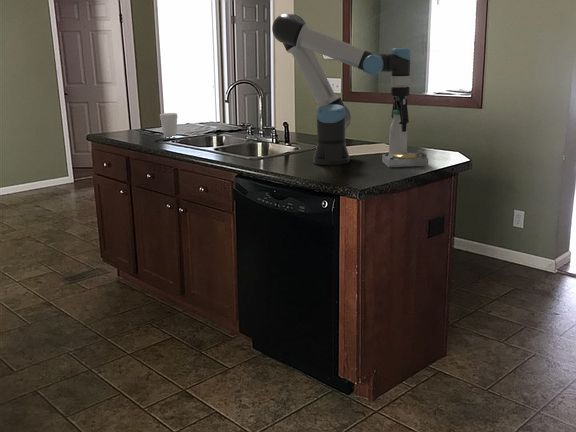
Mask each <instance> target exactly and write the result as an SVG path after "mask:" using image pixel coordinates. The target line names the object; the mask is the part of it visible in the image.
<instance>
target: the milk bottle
mask: <svg viewBox="0 0 576 432" xmlns="http://www.w3.org/2000/svg"><path fill="white" fill-rule="evenodd" d="M393 116H394V118H393V119H392V122H391V124H390V127H389V137H388V154H394V153H401V152H408V138H407V139H404V140H400V124H399V123H400V122H401V120H400V114H399V111H398V110H394V111H393Z"/></svg>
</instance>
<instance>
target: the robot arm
mask: <svg viewBox="0 0 576 432" xmlns="http://www.w3.org/2000/svg"><path fill="white" fill-rule="evenodd" d="M271 28H272V29H271V30H272V35H273V37H274V38H275V39H276V40H277V41H278V42H280V43H282V45H283V46H284V48H285V50H286V52H287V53H289V54H291V55H292V57H293V59H294V61H295V62H296V65H297V67H298V68H299V70H300V72H301V74H302V76H303V78H304V80H305V82H306V84H307V86H308V89H309V90H310V93H311V94H312V96H313V97H314V100H315V102H316V104H317V105H316V108H315V109H316V129H317V130H316V132H317V133H316V135H317V136H316V137H317V138H316V141H317V144H316V148H315V151H314V155H313V164H315V165H320V166H341V165H346V164H348V163H350V154H349V152H348V148H347V145H346V129H347V128H348V127H349V126H350V123H351V118H352V116H351V113H350V112H351V111H350V110H349V108H348V107H347V106H346V105H345V103H344V102H343V100H342V98H341V96H339V95H336V94H335V91H334V90H333V88H332V85H331V84H330V81H329V79H328V78H327V75H326V74H325V72H324V70H323V68H322V65H321V64H320V61H319V60H318V58H317V56H316V54H315V52H316V53H318V54H321V55H323V56H326V57H328V58H330V59H333V60H336V61H338V62H340V63H343V64H346V65H348V66H351V67H353V68H355V69H356V68H357V69H359V70H361V71H363V72H364V73H367V74H368V75H371V76H372V75H373V76H374V75H377V74H380V73H391V81H390V85H391V86H392V87H391V88H390V95H391V96H392V97H393V103H392V109H391V116H390V117H391V118H392V120H393V118H394V116H393V111H394V110H398V111H399V114H400V120H401V122H400V123H399V124H400V140H404V139H407V140H408V123H409V122H410V121H409V111H408V99H407V98H405V97H409V96H410V82H411V81H412V78H411V77H410V75H411V50H410V49H409V48H408V47H402V48H401V47H400V48H399V47H397V48H391V52H389V53H373V52H372V51H371V52H370V51H367V50H364V48H363V49H362V48H360V47H357V46H355V45H353V44H350V43H348V42H345V41H343V40H340V39H338V38H335V37H332V36H330V35H327V34H324V33H322V32H319V31H318V30H315V29H312V28H309V27H308V25H307V24H306V21H305V20H304V19H303V18H302V17H301V16H300V15H297V14H295V13H294V14H293V13H291V14H290V13H283V14H280V15H278V16H277V17H276V18H275V19H274V21H273V22H272V27H271Z"/></svg>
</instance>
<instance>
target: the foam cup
mask: <svg viewBox="0 0 576 432" xmlns="http://www.w3.org/2000/svg"><path fill="white" fill-rule="evenodd" d="M159 119H160V124H161V127H162V133H163V137H164V136H165V137H172V136H176V137H177V128H178V113H176V112H167V113H166V112H165V113H160V114H159ZM165 137H164V138H165Z"/></svg>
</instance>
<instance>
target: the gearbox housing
mask: <svg viewBox="0 0 576 432" xmlns="http://www.w3.org/2000/svg"><path fill="white" fill-rule="evenodd" d="M382 163H383V164H384V165H385V166H387V168H400V167H401V168H403V167H408V168H409V167H423V166H425V167H427V166H429V157H428V156H427V153H426V152H424V151H423V150H421V149H417V152H408V151H407V152H401V153H394V154H389V152H388V153H387V152H386V153H383V154H382Z"/></svg>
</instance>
